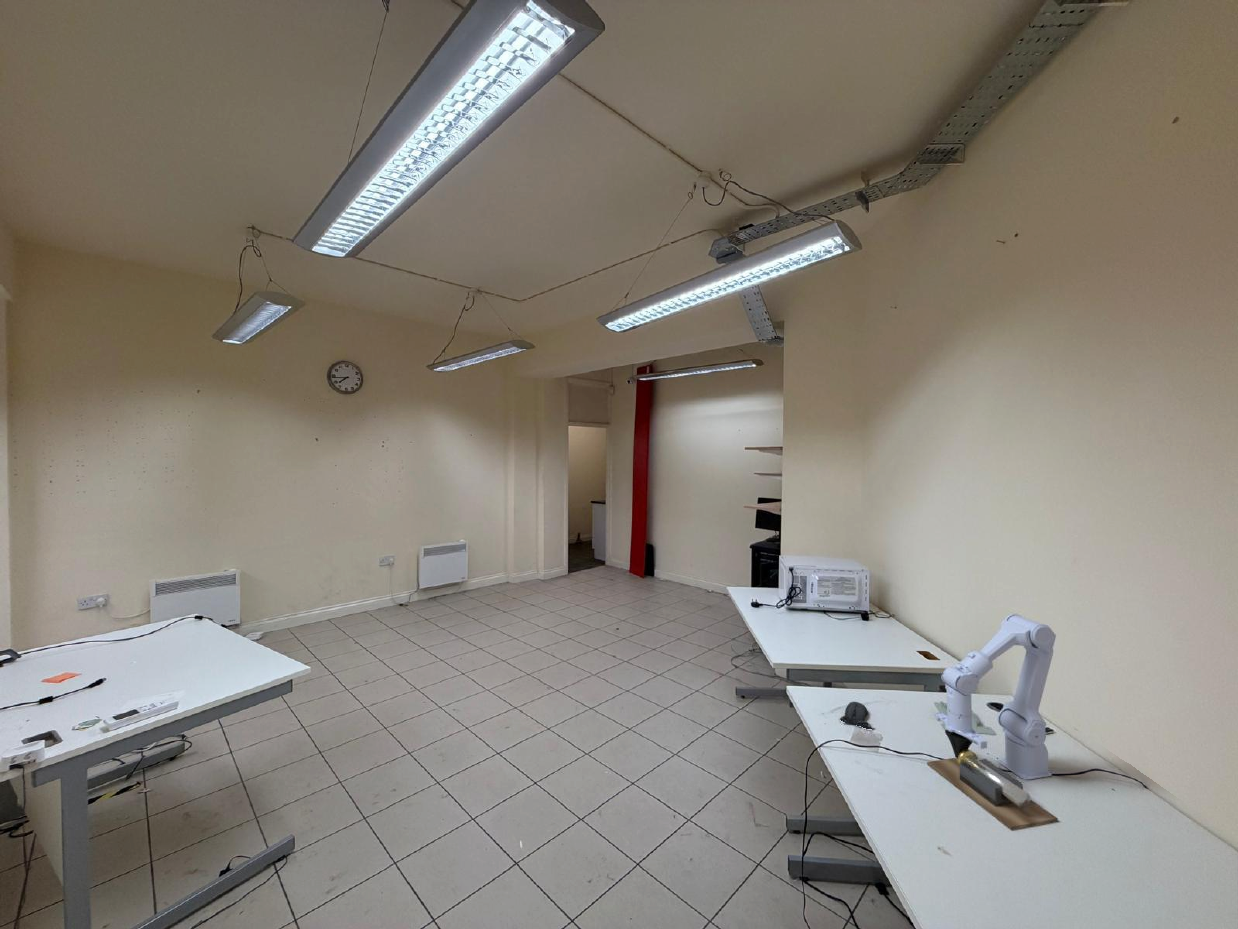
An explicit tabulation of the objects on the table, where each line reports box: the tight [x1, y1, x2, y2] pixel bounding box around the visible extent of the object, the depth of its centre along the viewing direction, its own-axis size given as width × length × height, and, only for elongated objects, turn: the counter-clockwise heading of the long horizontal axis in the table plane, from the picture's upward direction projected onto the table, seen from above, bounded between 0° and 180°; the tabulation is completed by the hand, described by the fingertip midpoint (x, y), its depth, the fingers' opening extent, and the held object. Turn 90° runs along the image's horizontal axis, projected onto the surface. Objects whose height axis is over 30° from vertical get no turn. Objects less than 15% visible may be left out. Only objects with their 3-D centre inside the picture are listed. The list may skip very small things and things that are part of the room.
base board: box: [926, 757, 1059, 831], centre depth 121 cm, size 14×24×1 cm, turn 10°
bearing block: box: [959, 758, 1024, 807], centre depth 120 cm, size 9×10×5 cm
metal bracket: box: [933, 701, 997, 736], centre depth 152 cm, size 14×6×15 cm
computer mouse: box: [839, 701, 873, 730], centre depth 157 cm, size 10×15×4 cm
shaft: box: [957, 749, 1031, 808], centre depth 119 cm, size 6×16×6 cm, turn 10°
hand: (960, 757), depth 129 cm, fingers closed
